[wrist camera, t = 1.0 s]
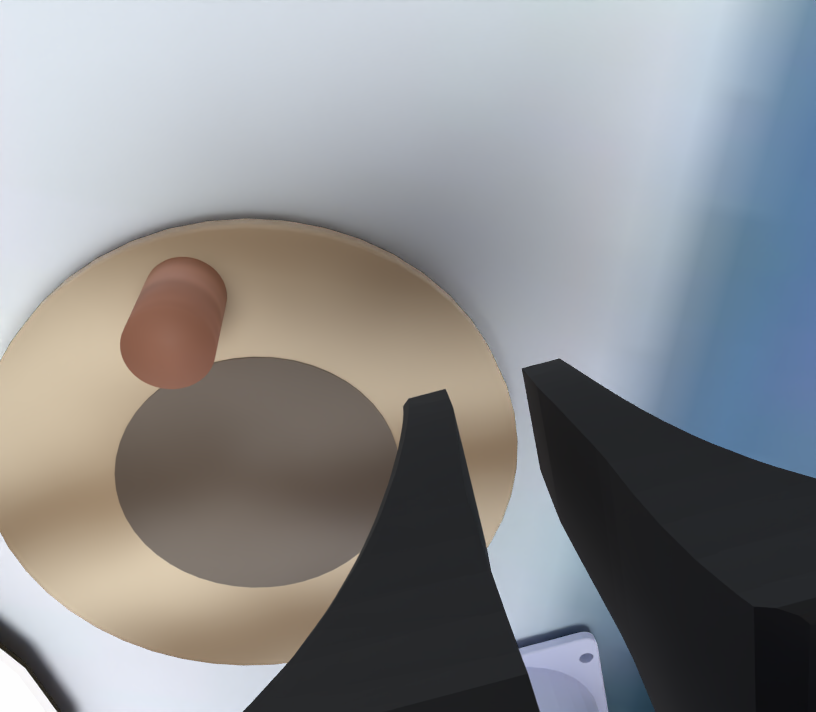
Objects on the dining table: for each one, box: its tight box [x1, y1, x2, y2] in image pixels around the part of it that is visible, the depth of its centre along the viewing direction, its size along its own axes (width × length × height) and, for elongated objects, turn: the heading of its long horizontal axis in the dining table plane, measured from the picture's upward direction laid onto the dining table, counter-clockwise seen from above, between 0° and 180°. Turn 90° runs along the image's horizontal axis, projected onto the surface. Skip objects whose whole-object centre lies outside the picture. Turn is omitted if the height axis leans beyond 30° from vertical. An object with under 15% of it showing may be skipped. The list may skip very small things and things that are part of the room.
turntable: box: [0, 218, 517, 665], centre depth 21 cm, size 15×15×4 cm
